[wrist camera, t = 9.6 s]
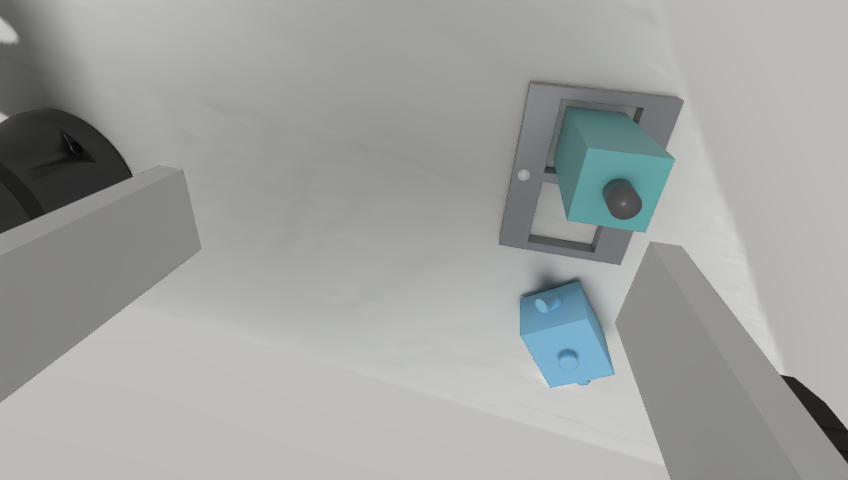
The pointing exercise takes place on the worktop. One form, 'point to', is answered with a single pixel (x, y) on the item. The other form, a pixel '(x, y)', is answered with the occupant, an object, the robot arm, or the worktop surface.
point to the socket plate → (531, 171)
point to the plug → (609, 169)
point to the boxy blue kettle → (564, 336)
